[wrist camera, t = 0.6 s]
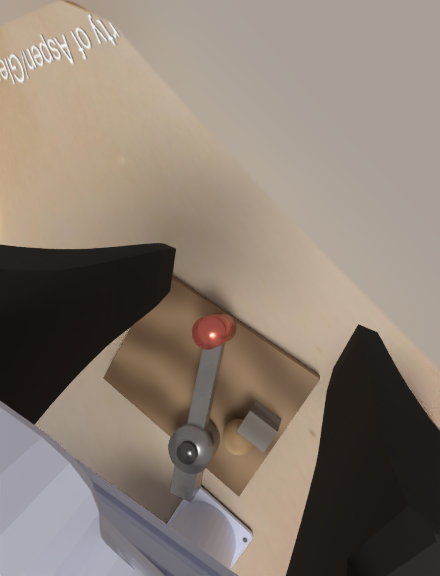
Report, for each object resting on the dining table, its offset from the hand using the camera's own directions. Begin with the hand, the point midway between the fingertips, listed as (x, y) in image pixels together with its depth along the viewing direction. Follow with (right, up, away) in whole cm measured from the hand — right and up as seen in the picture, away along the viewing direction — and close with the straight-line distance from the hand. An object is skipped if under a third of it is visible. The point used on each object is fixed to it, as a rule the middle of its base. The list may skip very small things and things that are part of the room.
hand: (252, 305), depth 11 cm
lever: (-2, -11, +21) cm, 24 cm away
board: (-3, -9, +23) cm, 25 cm away
